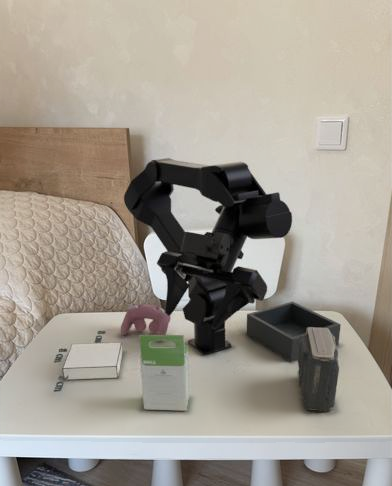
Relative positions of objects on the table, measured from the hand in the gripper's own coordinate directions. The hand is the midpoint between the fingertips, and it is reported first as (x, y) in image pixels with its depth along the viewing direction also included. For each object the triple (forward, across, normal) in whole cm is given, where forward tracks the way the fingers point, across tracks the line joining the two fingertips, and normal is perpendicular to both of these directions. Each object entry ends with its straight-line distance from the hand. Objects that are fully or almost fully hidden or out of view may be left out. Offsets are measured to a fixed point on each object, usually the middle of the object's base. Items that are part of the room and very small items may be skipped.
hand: (189, 321), depth 83 cm
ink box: (+14, 0, +4) cm, 14 cm away
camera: (+2, +18, +16) cm, 24 cm away
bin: (-9, +6, +27) cm, 29 cm away
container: (+12, -20, +6) cm, 24 cm away
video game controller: (+1, -20, +18) cm, 27 cm away
